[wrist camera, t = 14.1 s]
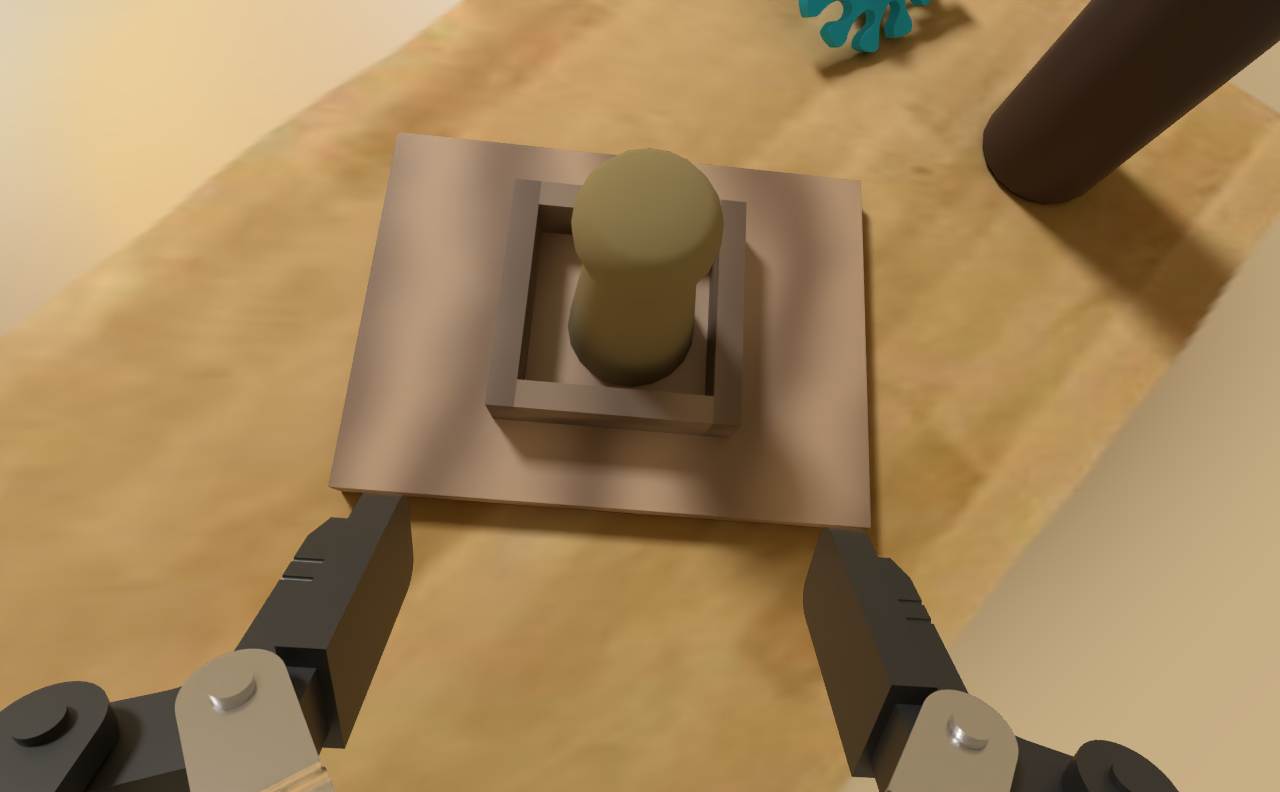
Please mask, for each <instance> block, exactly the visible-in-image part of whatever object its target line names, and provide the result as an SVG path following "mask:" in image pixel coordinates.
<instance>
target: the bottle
mask: <svg viewBox="0 0 1280 792" xmlns="http://www.w3.org/2000/svg"><path fill="white" fill-rule="evenodd" d="M1278 41H1280V0H1091V1H1090V2H1089V4H1088V5H1087V6H1086V7H1085V8H1084V9H1083V11H1082V12H1081V13H1080V14H1079V15H1078V16H1077V17H1076V19H1075V20H1074V21H1073V22H1072V23H1071V24H1070V26H1069V27H1068V28H1067V29H1066V30H1065V31H1064V32H1063V34H1062V35H1061V36H1060V37H1059V38H1058V39H1057V41H1056V42H1055V43H1054V44H1053V45H1052V46H1051V47H1050V49H1049V50H1048V51H1047V52H1046V53H1045V54H1044V56H1043V57H1042V58H1041V59H1040V60H1039V61H1038V62H1037V64H1036V65H1035V66H1034V67H1033V68H1032V69H1031V71H1030V72H1029V73H1028V74H1027V75H1026V76H1025V77H1024V79H1023V80H1022V81H1021V82H1020V83H1019V84H1018V86H1017V87H1016V88H1015V89H1014V90H1013V91H1012V93H1011V94H1010V95H1009V96H1008V97H1007V98H1006V99H1005V101H1004V102H1003V103H1002V104H1001V105H1000V106H999V108H998V109H997V110H996V111H995V112H994V113H993V114H992V116H991V118H990V120H989V122H988V124H987V126H986V128H985V130H984V133H983V151H984V154H985V158H986V161H987V164H988V165H989V167H990V169H991V170H992V172H993V173H994V175H995V176H996V178H997V179H998V180H999V181H1000V182H1001V183H1003V184H1004V185H1005V186H1006V187H1007V188H1008V189H1009V190H1010V191H1012V192H1014V193H1016V194H1018V195H1020V196H1021V197H1023V198H1025V199H1027V200H1031V201H1035V202H1040V203H1044V204H1053V203H1064V202H1067V201H1069V200H1072V199H1074V198H1076V197H1079V196H1081V195H1083V194H1084V193H1085V192H1087V191H1088V190H1089V189H1090V188H1092V187H1093V186H1094V185H1096V184H1097V183H1098V182H1099V181H1101V180H1102V179H1103V178H1105V177H1106V176H1107V175H1108V174H1110V173H1111V172H1112V171H1114V170H1115V169H1116V168H1117V167H1119V166H1120V165H1121V164H1122V163H1124V162H1125V161H1126V160H1128V159H1129V158H1130V157H1131V156H1133V155H1134V154H1135V153H1137V152H1138V151H1139V150H1140V149H1142V148H1143V147H1144V146H1145V145H1147V144H1148V143H1149V142H1151V141H1152V140H1153V139H1154V138H1156V137H1157V136H1158V135H1160V134H1161V133H1162V132H1163V131H1165V130H1166V129H1167V128H1169V127H1170V126H1171V125H1172V124H1174V123H1175V122H1176V121H1177V120H1179V119H1180V118H1181V117H1183V116H1184V115H1185V114H1186V113H1188V112H1189V111H1190V110H1192V109H1193V108H1194V107H1195V106H1197V105H1198V104H1199V103H1200V102H1202V101H1203V100H1204V99H1206V98H1207V97H1208V96H1209V95H1211V94H1212V93H1213V92H1215V91H1216V90H1217V89H1218V88H1220V87H1221V86H1222V85H1223V84H1225V83H1226V82H1227V81H1229V80H1230V79H1231V78H1232V77H1234V76H1235V75H1236V74H1237V73H1239V72H1240V71H1241V70H1243V69H1244V68H1245V67H1247V65H1249V64H1250V63H1252V62H1253V61H1254V60H1255V59H1257V58H1258V57H1259V56H1260V55H1262V54H1263V53H1264V52H1265V51H1267V50H1268V49H1270V48H1271V47H1272V46H1273V45H1274V44H1276V43H1277V42H1278Z"/></svg>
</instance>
